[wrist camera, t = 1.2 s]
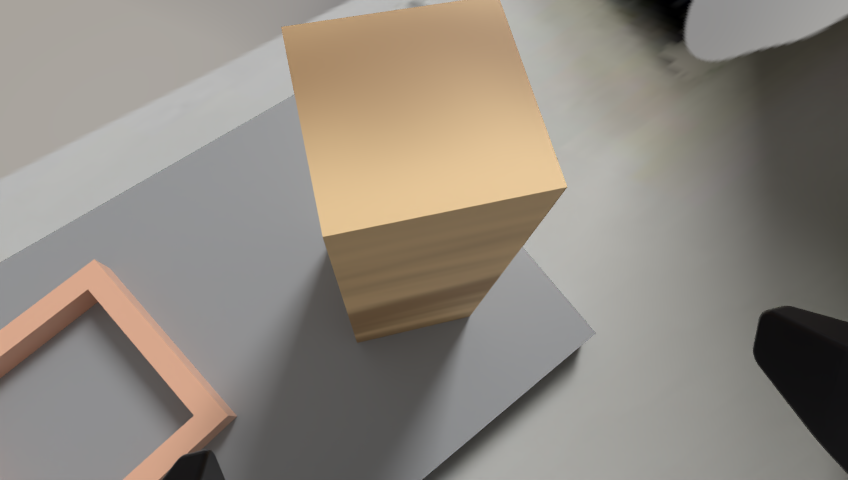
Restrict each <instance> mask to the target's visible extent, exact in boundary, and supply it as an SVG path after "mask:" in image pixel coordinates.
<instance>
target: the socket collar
mask: <svg viewBox="0 0 848 480" xmlns="http://www.w3.org/2000/svg"><path fill="white" fill-rule="evenodd" d="M97 302H99V303H100V304H101V306H102V307H103V308H104V309H105V310H106V311H107V313H108V314H109V315H110V316H111V317H112V319H113V320H114V321H115V322H116V323H117V325H118V326H119V327H120V328H121V329H122V331H123V332H124V333H125V334H126V335H127V336H128V338H129V339H130V340H131V341H132V342H133V344H134V345H135V346H136V347H137V348H138V350H139V351H140V352H141V353H142V354H143V356H144V357H145V358H146V359H147V360H148V361H149V363H150V364H151V365H152V366H153V367H154V369H155V370H156V371H157V372H158V373H159V375H160V376H161V377H162V378H163V379H164V381H165V382H166V383H167V384H168V385H169V386H170V388H171V389H172V390H173V391H174V392H175V394H176V395H177V396H178V397H179V398H180V400H181V401H182V402H183V403H184V404H185V406H186V407H187V408H188V409H189V410H190V411H191V413H192V414H193V415H194V416H193V417H192V418H191V419H189V420H188V421H187V422H186V423H185V424H184V425H183V426H182V427H181V428H179V429H178V430H177V431H176V432H175V433H174V434H173V435H172V436H171V437H170V438H168V439H167V440H166V441H165V442H164V443H163V444H162V445H161V446H160V447H158V448H157V449H156V450H155V451H154V452H153V453H152V454H151V455H150V456H148V457H147V458H146V459H145V460H144V461H143V462H142V463H141V464H140V465H138V466H137V467H136V468H135V469H134V470H133V471H132V472H131V473H130V474H128V475H127V476H126V477H125V478H124V479H123V480H162V479H163V478H164V476H165V475H166V474H167V473H168V471H169V470H170V469H171V467H172V466H173V465H174V463H175V462H176V461H177V460H178V458H180V457H181V456H182V455H184V454H188V453H192V452H196V451H200V450H201V449H203V448H204V447H205V446H206V445H207V444H208V443H209V442H210V441H211V440H212V439H213V438H214V437H216V436H217V435H218V434H219V433H220V432H221V431H222V430H223V429H224V428H225V427H226V426H227V425H228V424H230V423H231V422H232V421H233V420H234V419H235V418H236V417H237V415H236V414H235V413H234V412H233V411H232V410H231V408H230V407H229V406H228V405H227V404H226V403H225V401H224V400H223V399H222V398H221V397H220V396H219V394H218V393H217V392H216V391H215V390H214V389H213V388H212V386H211V385H210V384H209V383H208V382H207V381H206V379H205V378H204V377H203V376H202V375H201V374H200V372H199V371H198V370H197V369H196V368H195V367H194V365H193V364H192V363H191V362H190V361H189V360H188V358H187V357H186V356H185V355H184V354H183V353H182V351H181V350H180V349H179V348H178V347H177V346H176V344H175V343H174V342H173V341H172V340H171V339H170V338H169V336H168V335H167V334H166V333H165V332H164V331H163V329H162V328H161V327H160V326H159V325H158V324H157V322H156V321H155V320H154V319H153V318H152V317H151V315H150V314H149V313H148V312H147V311H146V310H145V308H144V307H143V306H142V305H141V304H140V303H139V301H138V300H137V299H136V298H135V297H134V296H133V295H132V293H131V292H130V291H129V290H128V289H127V288H126V286H125V285H124V284H123V283H122V282H121V281H120V279H119V278H118V277H117V276H116V275H115V274H114V272H113V271H112V270H111V269H110V268H108V267H107V266H105V265H103V264H102V263H100V262H98V261H96V260H95V259H94V260H92V261H91V262H90V263H88V264H87V265H86V266H84V267H83V268H82V269H81V270H79V271H78V272H77V273H75V274H74V275H73V276H71V277H70V278H69V279H67V280H66V281H65V282H63V283H62V284H61V285H59V286H58V287H57V288H55V289H54V290H53V291H51V292H50V293H49V294H47V295H46V296H45V297H43V298H42V299H41V300H39V301H38V302H37V303H35V304H34V305H33V306H31V307H30V308H29V309H27V310H26V311H25V312H23V313H22V314H21V315H20V316H18V317H17V318H16V319H14V320H13V321H12V322H10V323H9V324H8V325H6V326H5V327H4V328H2V329H1V330H0V378H1V377H3V376H4V375H5V374H6V373H8V372H9V371H10V370H11V369H13V368H14V367H15V366H17V365H18V364H19V363H20V362H22V361H23V360H24V359H26V358H27V357H28V356H29V355H31V354H32V353H33V352H34V351H36V350H37V349H38V348H40V347H41V346H42V345H43V344H45V343H46V342H47V341H49V340H50V339H51V338H52V337H54V336H55V335H56V334H58V333H59V332H60V331H61V330H63V329H64V328H65V327H66V326H68V325H69V324H70V323H72V322H73V321H74V320H75V319H77V318H78V317H79V316H81V315H82V314H83V313H84V312H86V311H87V310H88V309H90V308H91V307H92V306H93V305H95V304H96V303H97Z"/></svg>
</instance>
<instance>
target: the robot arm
mask: <svg viewBox="0 0 848 480" xmlns="http://www.w3.org/2000/svg"><path fill="white" fill-rule="evenodd" d="M753 354H754V358H755V360H756V362H757V364H758V365H759V367H760V368H761V369H762V370H763V372H764V373H765V374H766V376H767V377H768V378H769V379H770V381H771V382H772V383H773V385H774V386H775V387H776V389H777V390H778V391H779V392H780V394H781V395H782V396H783V398H784V399H785V400H786V401H787V403H788V404H789V405H790V407H791V408H792V409H793V410H794V412H795V413H796V414H797V416H798V417H799V418H800V419H801V421H802V422H803V423H804V425H805V426H806V427H807V429H808V430H809V431H810V432H811V433H812V435H813V436H814V437H815V438H816V440H817V441H818V442H819V443H820V444H821V445H822V447H823V448H824V449H825V450H826V451H827V452H828V453H829V454H830V456H831V457H832V458H833V459H834V460H835V461H836V462H837V463H838V464H839V465H840V466H841V467H842V469H843V470H844V471H845V472H846V473H847V474H848V322H845V321H842V320H838V319H835V318H831V317H828V316H824V315H820V314H817V313H813V312H810V311H806V310H803V309H799V308H795V307H792V306H781V307H777V308H773V309H769V310H766V311H764V312H763V313H762V314H761V315H760V317H759V321H758V326H757V331H756V336H755V341H754V346H753ZM162 480H225V478H224V475H223V473H222V470H221V468H220V466H219V463H218V461H217V458H216V456H215V454H214V453H213V451H212V450H210V449H204V450H200V451H196V452H192V453H188V454H184V455H182V456H181V457H180V458H178V460H177V461H176V462H175V463H174V465H173V466H172V467H171V469H170V470H169V471H168V473H167V474H166V475H165V476H164V478H163V479H162Z"/></svg>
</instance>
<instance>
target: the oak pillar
mask: <svg viewBox="0 0 848 480" xmlns="http://www.w3.org/2000/svg"><path fill="white" fill-rule="evenodd" d="M281 28H282V33H283V38H284V43H285V49H286V54H287V59H288V64H289V69H290V74H291V79H292V84H293V89H294V94H295V99H296V104H297V110H298V115H299V120H300V125H301V130H302V135H303V140H304V145H305V150H306V155H307V160H308V165H309V170H310V176H311V181H312V186H313V191H314V196H315V201H316V206H317V211H318V216H319V221H320V226H321V231H322V236H323V240H324V243H325V246H326V249H327V252H328V255H329V258H330V261H331V264H332V267H333V270H334V273H335V277H336V280H337V283H338V286H339V289H340V292H341V295H342V298H343V301H344V304H345V307H346V310H347V313H348V316H349V320H350V323H351V326H352V329H353V332H354V335H355V338H356V341H357V343H359V342H363V341H367V340H371V339H376V338H380V337H384V336H388V335H393V334H397V333H401V332H406V331H410V330H414V329H418V328H423V327H427V326H431V325H435V324H440V323H444V322H448V321H452V320H457V319H461V318H465V317H469V316H470V315H471V314H472V313H473V312H474V310H475V309H476V308H477V306H478V305H479V304H480V302H481V301H482V300H483V298H484V297H485V296H486V294H487V293H488V292H489V290H490V289H491V288H492V286H493V285H494V284H495V282H496V281H497V280H498V278H499V277H500V276H501V274H502V273H503V272H504V270H505V269H506V268H507V266H508V265H509V264H510V262H511V261H512V260H513V258H514V257H515V256H516V254H517V253H518V252H519V250H520V249H521V248H522V246H523V245H524V244H525V242H526V241H527V240H528V238H529V237H530V236H531V234H532V233H533V232H534V230H535V229H536V228H537V227H538V225H539V224H540V223H541V221H542V220H543V219H544V217H545V216H546V215H547V213H548V212H549V211H550V209H551V208H552V207H553V205H554V204H555V203H556V201H557V200H558V199H559V197H560V196H561V195H562V193H563V192H564V191H565V189H566V188H567V185H566V182H565V179H564V177H563V174H562V171H561V168H560V166H559V163H558V160H557V157H556V154H555V152H554V149H553V146H552V143H551V141H550V138H549V135H548V132H547V130H546V127H545V124H544V121H543V118H542V116H541V113H540V110H539V107H538V105H537V102H536V99H535V96H534V93H533V91H532V88H531V85H530V82H529V80H528V77H527V74H526V71H525V69H524V66H523V63H522V60H521V57H520V55H519V52H518V49H517V46H516V44H515V41H514V38H513V35H512V33H511V30H510V27H509V24H508V21H507V19H506V16H505V13H504V10H503V8H502V5H501V2H500V0H462V1H455V2H448V3H441V4H434V5H428V6H421V7H414V8H407V9H400V10H393V11H387V12H380V13H373V14H366V15H359V16H353V17H346V18H339V19H332V20H325V21H318V22H312V23H305V24H298V25H291V26H284V27H281Z"/></svg>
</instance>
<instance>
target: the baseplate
mask: <svg viewBox="0 0 848 480" xmlns="http://www.w3.org/2000/svg"><path fill="white" fill-rule="evenodd" d="M94 259H95V260H96V261H98V262H100V263H102V264H103V265H105V266H107V267H108V268H110V269H111V270H112V271H113V272H114V274H115V275H116V276H117V277H118V278H119V279H120V281H121V282H122V283H123V284H124V285H125V286H126V288H127V289H128V290H129V291H130V292H131V293H132V295H133V296H134V297H135V298H136V299H137V300H138V301H139V303H140V304H141V305H142V306H143V307H144V308H145V310H146V311H147V312H148V313H149V314H150V315H151V317H152V318H153V319H154V320H155V321H156V322H157V324H158V325H159V326H160V327H161V328H162V329H163V331H164V332H165V333H166V334H167V335H168V336H169V338H170V339H171V340H172V341H173V342H174V343H175V344H176V346H177V347H178V348H179V349H180V350H181V351H182V353H183V354H184V355H185V356H186V357H187V358H188V360H189V361H190V362H191V363H192V364H193V365H194V367H195V368H196V369H197V370H198V371H199V372H200V374H201V375H202V376H203V377H204V378H205V379H206V381H207V382H208V383H209V384H210V385H211V386H212V388H213V389H214V390H215V391H216V392H217V393H218V394H219V396H220V397H221V398H222V399H223V400H224V401H225V403H226V404H227V405H228V406H229V407H230V408H231V410H232V411H233V412H234V413H235V414H236V415H237V417H236V418H235V419H234V420H233V421H232V422H231V423H230V424H228V425H227V426H226V427H225V428H224V429H223V430H222V431H221V432H220V433H219V434H218V435H217V436H216V437H214V438H213V439H212V440H211V441H210V442H209V443H208V444H207V445H206V446H205V447H204V448H203V449H201V450H204V449H210V450H212V451H213V453H214V454H215V456H216V458H217V461H218V463H219V466H220V468H221V470H222V473H223V475H224V478H225V480H422V479H424V478H425V477H426V476H427V475H428V474H429V473H431V472H432V471H433V470H434V469H435V468H437V467H438V466H439V465H440V464H441V463H442V462H444V461H445V460H446V459H447V458H448V457H450V456H451V455H452V454H453V453H454V452H456V451H457V450H458V449H459V448H460V447H461V446H463V445H464V444H465V443H466V442H467V441H469V440H470V439H471V438H472V437H473V436H474V435H476V434H477V433H478V432H479V431H480V430H482V429H483V428H484V427H485V426H486V425H488V424H489V423H490V422H491V421H492V420H493V419H495V418H496V417H497V416H498V415H499V414H501V413H502V412H503V411H504V410H505V409H506V408H508V407H509V406H510V405H511V404H512V403H514V402H515V401H516V400H517V399H518V398H519V397H521V396H522V395H523V394H524V393H525V392H527V391H528V390H529V389H530V388H531V387H533V386H534V385H535V384H536V383H537V382H538V381H540V380H541V379H542V378H543V377H544V376H546V375H547V374H548V373H549V372H550V371H551V370H553V369H554V368H555V367H556V366H557V365H559V364H560V363H561V362H562V361H563V360H565V359H566V358H567V357H568V356H569V355H570V354H572V353H573V352H574V351H575V350H576V349H578V348H579V347H580V346H581V345H582V344H583V343H585V342H586V341H587V340H588V339H589V338H591V337H592V336H593V335H594V334H595V331H594V330H593V329H592V328H591V327H590V326H589V324H588V323H587V322H586V321H585V320H584V319H583V317H582V316H581V315H580V314H579V313H578V311H577V310H576V309H575V308H574V307H573V306H572V304H571V303H570V302H569V301H568V300H567V298H566V297H565V296H564V295H563V294H562V293H561V291H560V290H559V289H558V288H557V287H556V285H555V284H554V283H553V282H552V281H551V280H550V278H549V277H548V276H547V275H546V274H545V272H544V271H543V270H542V269H541V268H540V267H539V265H538V264H537V263H536V262H535V261H534V260H533V258H532V257H531V256H530V255H529V254H528V252H527V251H526V250H525V249H524V248H523V247H522V248H521V249H520V250H519V252H518V253H517V254H516V256H515V257H514V258H513V260H512V261H511V262H510V264H509V265H508V266H507V268H506V269H505V270H504V272H503V273H502V274H501V276H500V277H499V278H498V280H497V281H496V282H495V284H494V285H493V286H492V288H491V289H490V290H489V292H488V293H487V294H486V296H485V297H484V298H483V300H482V301H481V302H480V304H479V305H478V306H477V308H476V309H475V310H474V312H473V313H472V314H471V315H470V316H469V317H465V318H461V319H457V320H452V321H448V322H444V323H440V324H435V325H431V326H427V327H423V328H418V329H414V330H410V331H406V332H401V333H397V334H393V335H388V336H384V337H380V338H376V339H371V340H367V341H363V342H359V343H357V341H356V338H355V335H354V332H353V329H352V326H351V323H350V320H349V316H348V313H347V310H346V307H345V304H344V301H343V298H342V295H341V292H340V289H339V286H338V283H337V280H336V277H335V273H334V270H333V267H332V264H331V261H330V258H329V255H328V252H327V249H326V246H325V243H324V240H323V236H322V231H321V226H320V221H319V216H318V211H317V206H316V201H315V196H314V191H313V186H312V181H311V176H310V170H309V165H308V160H307V155H306V150H305V145H304V140H303V135H302V130H301V125H300V120H299V115H298V110H297V104H296V99H295V94H294V95H293V96H291V97H289V98H287V99H286V100H284V101H282V102H280V103H279V104H277V105H275V106H273V107H272V108H270V109H268V110H266V111H265V112H263V113H261V114H259V115H258V116H256V117H254V118H252V119H251V120H249V121H247V122H245V123H244V124H242V125H240V126H238V127H237V128H235V129H233V130H231V131H230V132H228V133H226V134H224V135H223V136H221V137H219V138H217V139H216V140H214V141H212V142H210V143H209V144H207V145H205V146H203V147H202V148H200V149H198V150H196V151H195V152H193V153H191V154H189V155H188V156H186V157H184V158H182V159H181V160H179V161H177V162H175V163H174V164H172V165H170V166H168V167H167V168H165V169H163V170H161V171H160V172H158V173H156V174H154V175H153V176H151V177H149V178H147V179H146V180H144V181H142V182H140V183H139V184H137V185H135V186H133V187H132V188H130V189H128V190H126V191H125V192H123V193H121V194H119V195H118V196H116V197H114V198H112V199H111V200H109V201H107V202H105V203H103V204H102V205H100V206H98V207H96V208H95V209H93V210H91V211H89V212H88V213H86V214H84V215H82V216H81V217H79V218H77V219H75V220H74V221H72V222H70V223H68V224H67V225H65V226H63V227H61V228H60V229H58V230H56V231H54V232H53V233H51V234H49V235H47V236H46V237H44V238H42V239H40V240H39V241H37V242H35V243H33V244H32V245H30V246H28V247H26V248H25V249H23V250H21V251H19V252H18V253H16V254H14V255H12V256H11V257H9V258H7V259H5V260H4V261H2V262H0V330H1V329H2V328H4V327H5V326H6V325H8V324H9V323H10V322H12V321H13V320H14V319H16V318H17V317H18V316H20V315H21V314H22V313H23V312H25V311H26V310H27V309H29V308H30V307H31V306H33V305H34V304H35V303H37V302H38V301H39V300H41V299H42V298H43V297H45V296H46V295H47V294H49V293H50V292H51V291H53V290H54V289H55V288H57V287H58V286H59V285H61V284H62V283H63V282H65V281H66V280H67V279H69V278H70V277H71V276H73V275H74V274H75V273H77V272H78V271H79V270H81V269H82V268H83V267H84V266H86V265H87V264H88V263H90V262H91V261H92V260H94ZM193 416H194V415H193V414H192V413H191V411H190V410H189V409H188V408H187V407H186V406H185V404H184V403H183V402H182V401H181V400H180V398H179V397H178V396H177V395H176V394H175V392H174V391H173V390H172V389H171V388H170V386H169V385H168V384H167V383H166V382H165V381H164V379H163V378H162V377H161V376H160V375H159V373H158V372H157V371H156V370H155V369H154V367H153V366H152V365H151V364H150V363H149V361H148V360H147V359H146V358H145V357H144V356H143V354H142V353H141V352H140V351H139V350H138V348H137V347H136V346H135V345H134V344H133V342H132V341H131V340H130V339H129V338H128V336H127V335H126V334H125V333H124V332H123V331H122V329H121V328H120V327H119V326H118V325H117V323H116V322H115V321H114V320H113V319H112V317H111V316H110V315H109V314H108V313H107V311H106V310H105V309H104V308H103V307H102V306H101V304H100V303H99V302H97V303H96V304H95V305H93V306H92V307H91V308H90V309H88V310H87V311H86V312H84V313H83V314H82V315H81V316H79V317H78V318H77V319H75V320H74V321H73V322H72V323H70V324H69V325H68V326H66V327H65V328H64V329H63V330H61V331H60V332H59V333H58V334H56V335H55V336H54V337H52V338H51V339H50V340H49V341H47V342H46V343H45V344H43V345H42V346H41V347H40V348H38V349H37V350H36V351H34V352H33V353H32V354H31V355H29V356H28V357H27V358H26V359H24V360H23V361H22V362H20V363H19V364H18V365H17V366H15V367H14V368H13V369H11V370H10V371H9V372H8V373H6V374H5V375H4V376H3V377H1V378H0V480H123V479H124V478H125V477H126V476H127V475H128V474H130V473H131V472H132V471H133V470H134V469H135V468H136V467H137V466H138V465H140V464H141V463H142V462H143V461H144V460H145V459H146V458H147V457H148V456H150V455H151V454H152V453H153V452H154V451H155V450H156V449H157V448H158V447H160V446H161V445H162V444H163V443H164V442H165V441H166V440H167V439H168V438H170V437H171V436H172V435H173V434H174V433H175V432H176V431H177V430H178V429H179V428H181V427H182V426H183V425H184V424H185V423H186V422H187V421H188V420H189V419H191V418H192V417H193Z"/></svg>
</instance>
